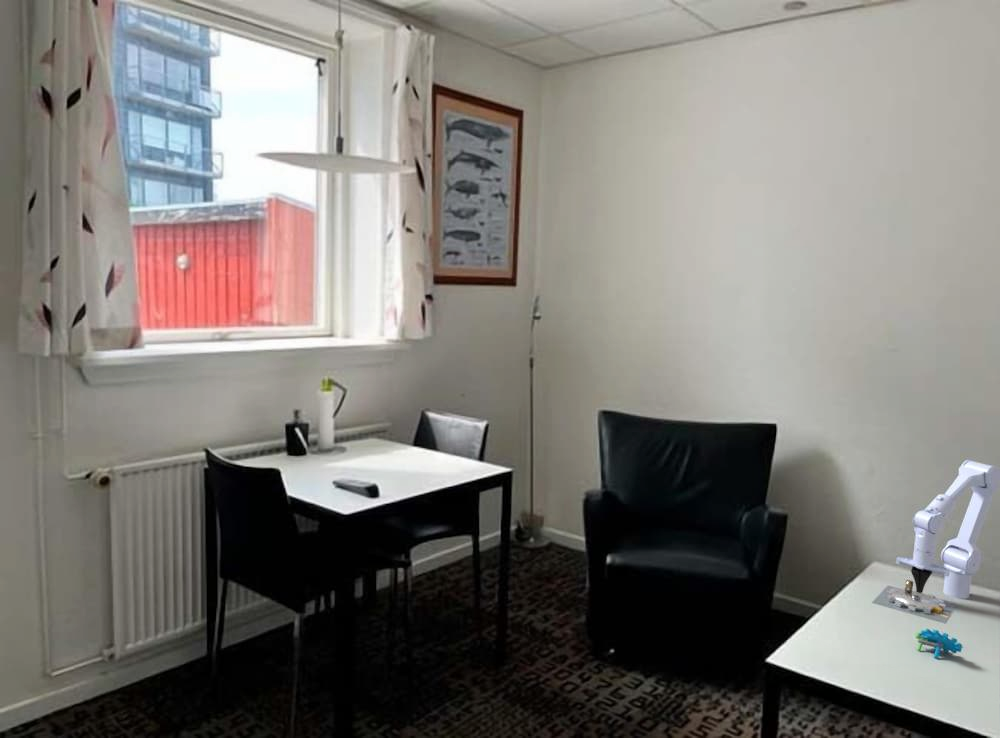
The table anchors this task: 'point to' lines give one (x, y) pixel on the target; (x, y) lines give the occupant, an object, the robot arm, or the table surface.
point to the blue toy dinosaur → (938, 642)
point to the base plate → (939, 617)
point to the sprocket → (915, 599)
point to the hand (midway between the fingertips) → (919, 591)
